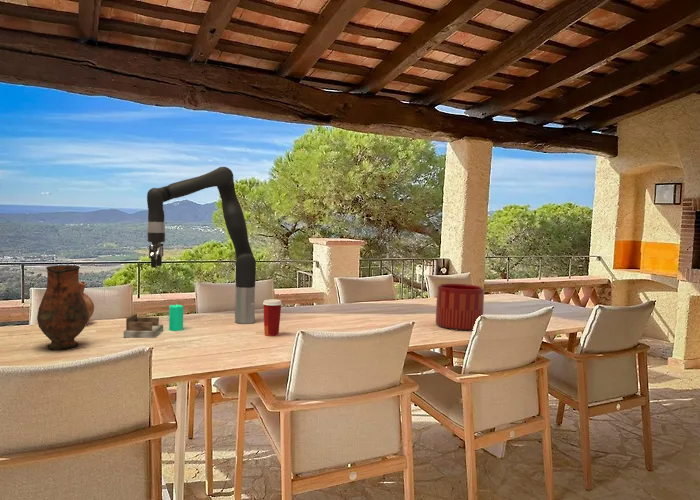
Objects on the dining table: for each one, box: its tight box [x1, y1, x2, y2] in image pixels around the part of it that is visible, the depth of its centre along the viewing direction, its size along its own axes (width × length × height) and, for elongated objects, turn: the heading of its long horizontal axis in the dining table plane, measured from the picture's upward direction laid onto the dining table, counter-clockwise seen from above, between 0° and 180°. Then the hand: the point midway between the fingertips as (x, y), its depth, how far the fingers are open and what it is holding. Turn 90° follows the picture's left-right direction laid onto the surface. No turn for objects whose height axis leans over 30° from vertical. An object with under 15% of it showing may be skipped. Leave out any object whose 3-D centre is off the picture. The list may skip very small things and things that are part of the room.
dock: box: [123, 313, 164, 339], centre depth 210 cm, size 12×14×8 cm
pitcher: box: [36, 264, 89, 351], centre depth 187 cm, size 17×21×30 cm
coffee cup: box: [262, 298, 283, 337], centre depth 217 cm, size 8×8×15 cm
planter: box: [435, 283, 485, 331], centre depth 250 cm, size 23×23×20 cm
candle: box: [168, 302, 184, 332], centre depth 220 cm, size 6×6×12 cm
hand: (156, 266), depth 231 cm, fingers open, 8 cm apart
